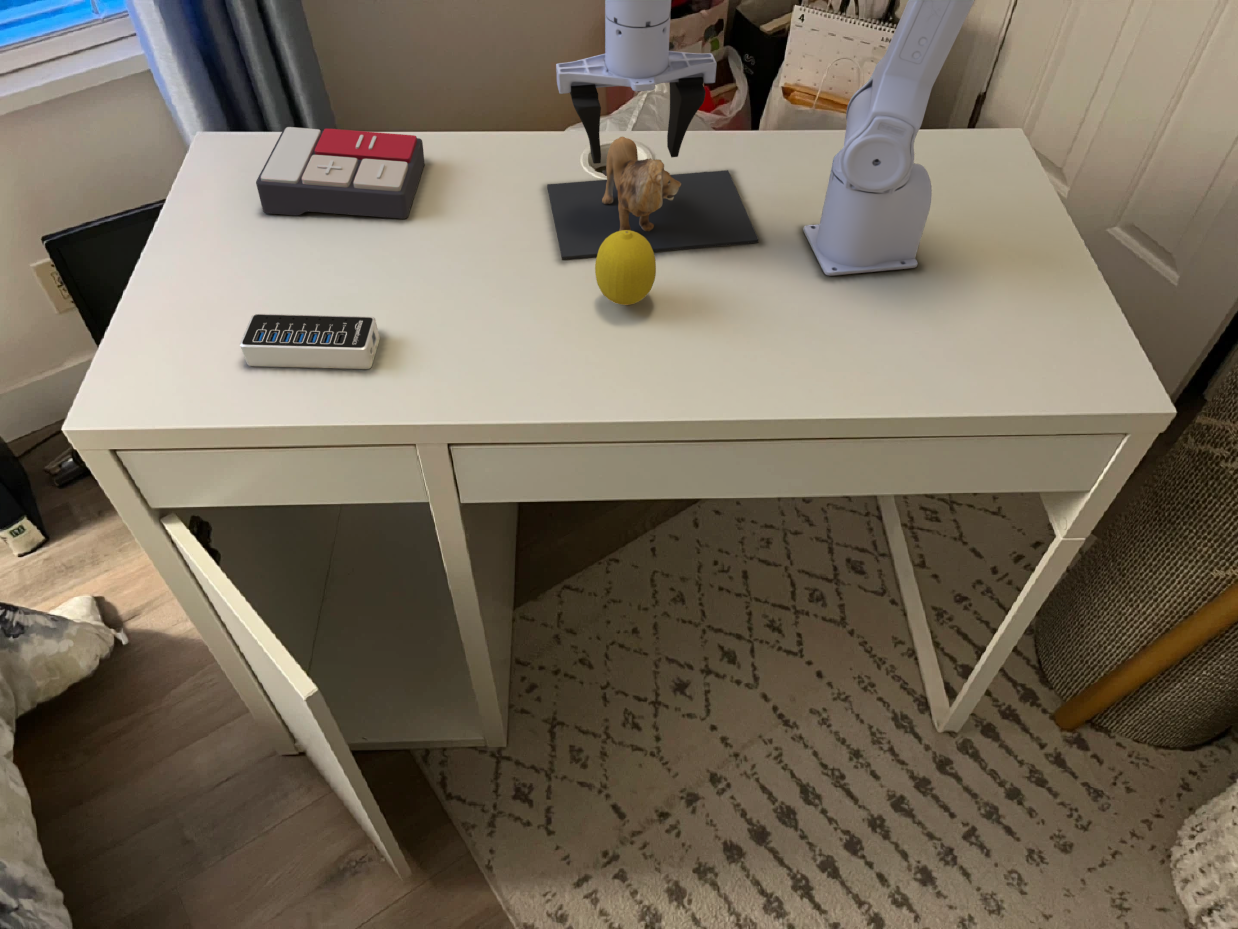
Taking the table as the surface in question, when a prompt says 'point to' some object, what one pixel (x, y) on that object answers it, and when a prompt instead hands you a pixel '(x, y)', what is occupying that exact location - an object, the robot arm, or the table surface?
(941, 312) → the table surface
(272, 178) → the button control box
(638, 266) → the lemon
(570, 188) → the desk mat
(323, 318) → the multiport hub
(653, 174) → the lion figurine
